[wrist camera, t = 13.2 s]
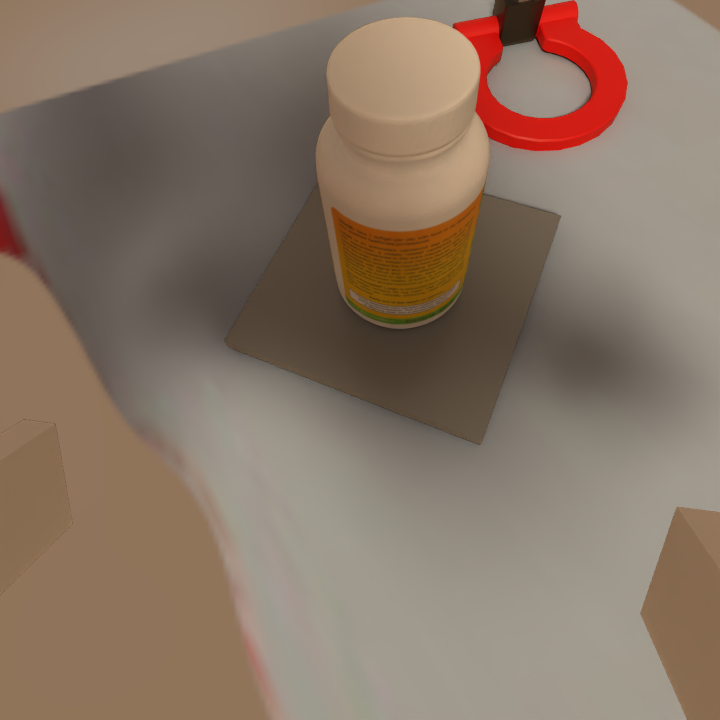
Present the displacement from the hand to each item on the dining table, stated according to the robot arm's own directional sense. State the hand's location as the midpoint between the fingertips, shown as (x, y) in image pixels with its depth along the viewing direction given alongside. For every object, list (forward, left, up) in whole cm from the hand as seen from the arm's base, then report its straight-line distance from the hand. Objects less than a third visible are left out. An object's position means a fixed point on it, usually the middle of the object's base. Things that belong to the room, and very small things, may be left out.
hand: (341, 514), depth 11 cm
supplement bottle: (-3, +11, -7) cm, 13 cm away
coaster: (-3, +11, -8) cm, 13 cm away
